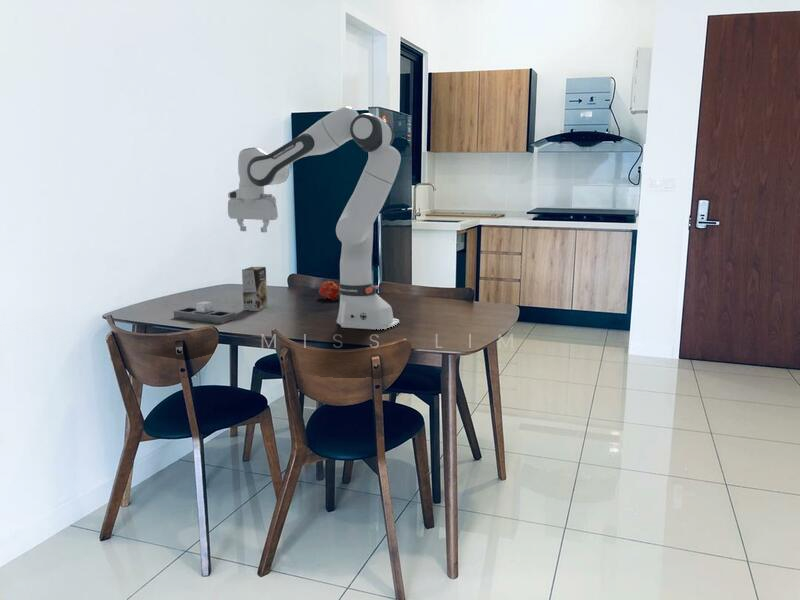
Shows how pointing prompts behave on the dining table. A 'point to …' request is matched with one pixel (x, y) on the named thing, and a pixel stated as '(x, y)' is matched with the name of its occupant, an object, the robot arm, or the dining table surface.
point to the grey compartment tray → (204, 315)
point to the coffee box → (254, 288)
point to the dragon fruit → (329, 290)
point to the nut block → (204, 307)
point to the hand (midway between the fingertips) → (253, 231)
